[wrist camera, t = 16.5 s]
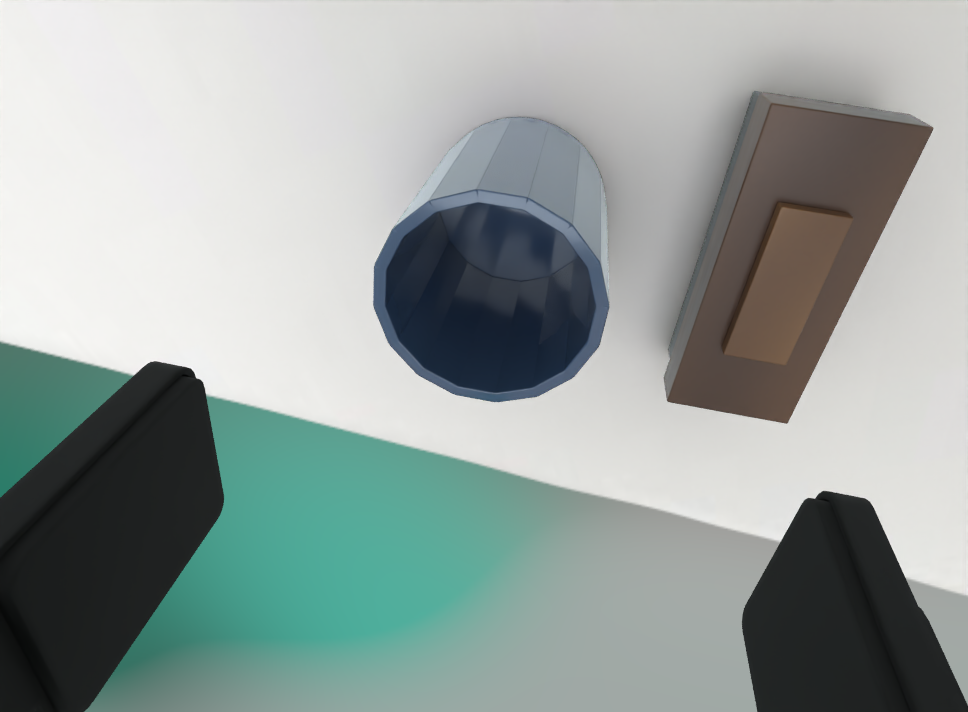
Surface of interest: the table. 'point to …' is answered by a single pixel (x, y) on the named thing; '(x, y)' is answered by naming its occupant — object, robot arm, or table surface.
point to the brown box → (786, 249)
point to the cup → (500, 264)
